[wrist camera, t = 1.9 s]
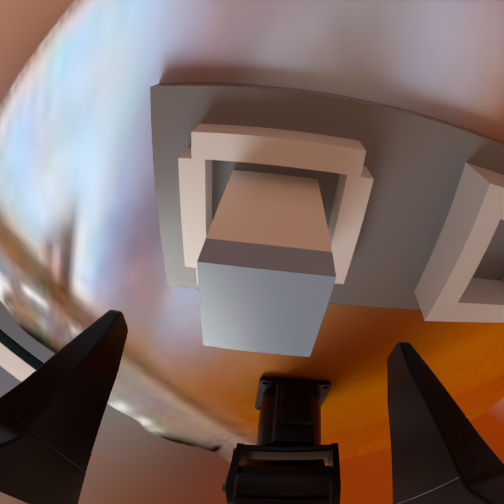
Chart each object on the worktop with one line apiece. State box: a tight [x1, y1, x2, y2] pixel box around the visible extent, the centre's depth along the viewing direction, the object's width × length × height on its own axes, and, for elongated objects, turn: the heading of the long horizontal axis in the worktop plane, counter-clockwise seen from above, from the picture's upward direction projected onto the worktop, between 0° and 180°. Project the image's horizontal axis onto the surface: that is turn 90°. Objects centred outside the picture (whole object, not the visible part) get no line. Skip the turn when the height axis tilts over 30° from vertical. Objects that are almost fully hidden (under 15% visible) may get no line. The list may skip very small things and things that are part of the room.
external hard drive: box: [0, 329, 44, 382], centre depth 35 cm, size 24×12×2 cm, turn 46°
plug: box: [197, 170, 336, 357], centre depth 13 cm, size 4×4×7 cm
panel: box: [150, 83, 504, 322], centre depth 15 cm, size 12×26×4 cm, turn 86°
